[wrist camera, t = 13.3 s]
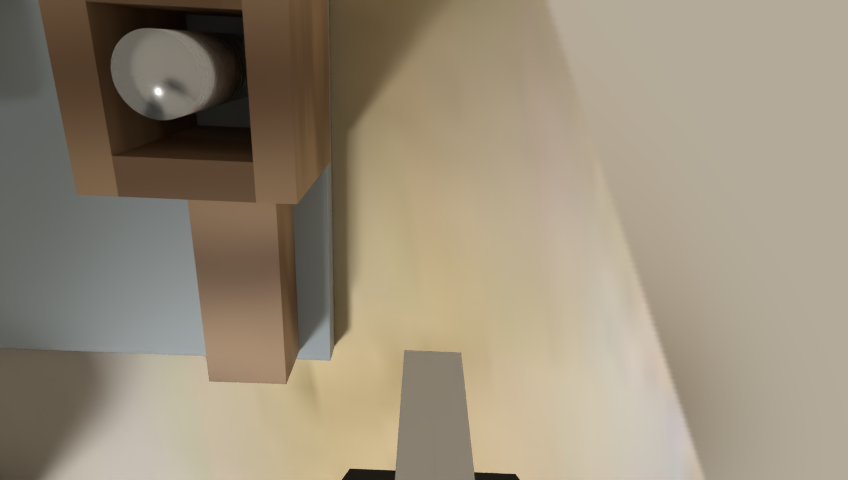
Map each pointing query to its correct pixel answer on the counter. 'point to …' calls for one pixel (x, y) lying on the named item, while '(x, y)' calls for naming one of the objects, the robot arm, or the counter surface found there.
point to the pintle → (179, 71)
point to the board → (117, 228)
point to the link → (210, 159)
